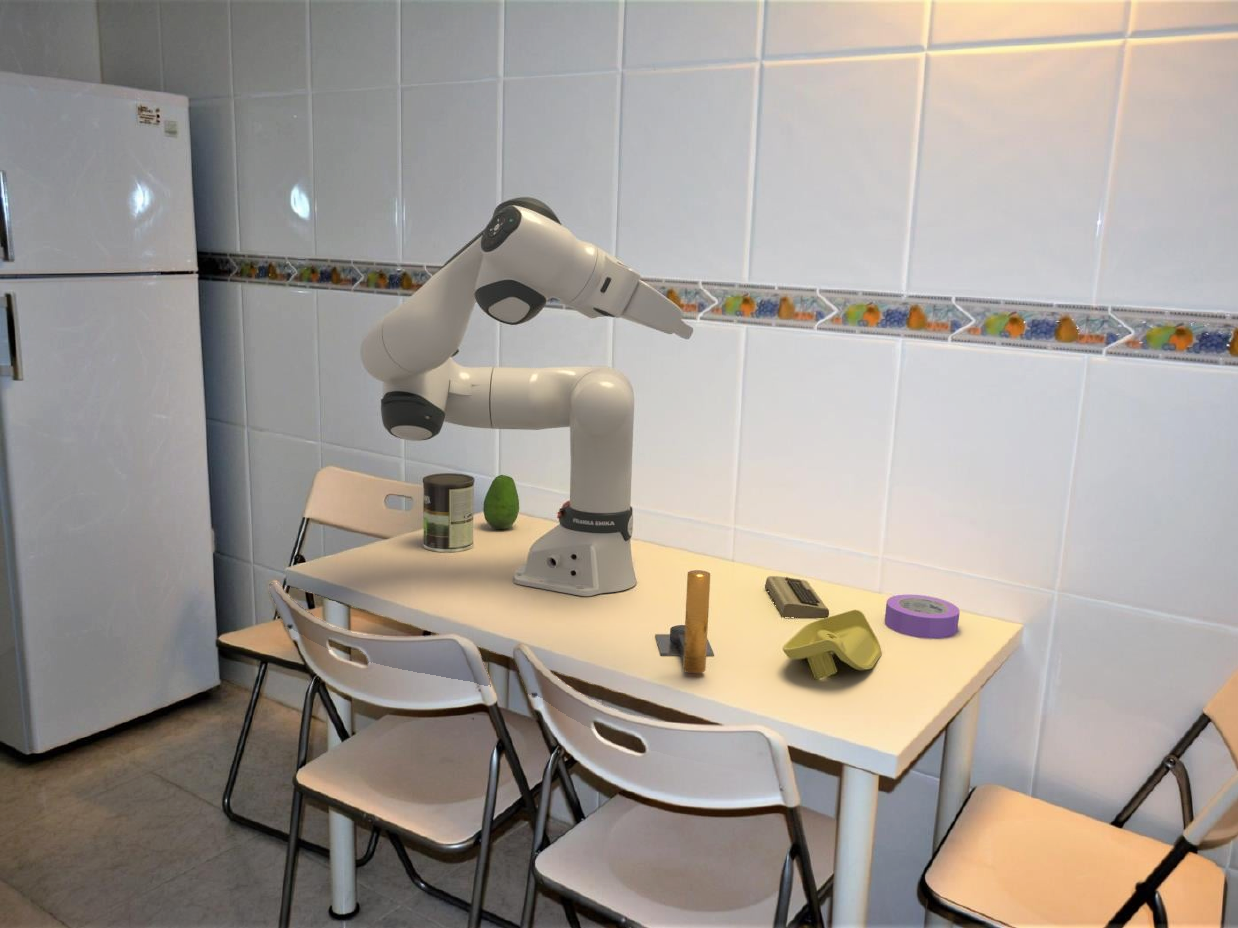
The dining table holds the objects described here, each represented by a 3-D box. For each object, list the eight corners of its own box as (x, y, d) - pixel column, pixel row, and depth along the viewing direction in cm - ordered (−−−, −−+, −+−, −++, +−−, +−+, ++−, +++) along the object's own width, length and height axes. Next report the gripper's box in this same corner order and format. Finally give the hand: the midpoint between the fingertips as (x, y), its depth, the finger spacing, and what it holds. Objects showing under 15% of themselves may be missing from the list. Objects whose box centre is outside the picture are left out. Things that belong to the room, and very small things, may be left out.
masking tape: (962, 623, 172) (964, 601, 172) (951, 644, 162) (953, 621, 161) (892, 611, 177) (894, 589, 177) (877, 631, 167) (879, 608, 166)
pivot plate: (655, 636, 161) (655, 634, 160) (705, 636, 161) (705, 634, 161) (660, 655, 153) (660, 653, 153) (713, 655, 153) (713, 653, 153)
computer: (829, 621, 172) (830, 602, 171) (781, 620, 171) (783, 601, 171) (808, 592, 187) (809, 574, 187) (764, 591, 187) (765, 574, 186)
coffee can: (422, 553, 202) (422, 483, 199) (423, 539, 212) (422, 473, 209) (475, 552, 204) (475, 483, 201) (473, 538, 214) (473, 472, 211)
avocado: (521, 532, 220) (522, 478, 218) (484, 533, 218) (485, 478, 216) (516, 523, 228) (517, 470, 226) (481, 524, 226) (481, 471, 224)
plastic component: (807, 623, 162) (867, 605, 158) (823, 667, 162) (884, 650, 158) (773, 654, 144) (839, 636, 140) (791, 704, 144) (858, 687, 140)
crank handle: (668, 635, 159) (672, 547, 156) (696, 635, 159) (700, 548, 156) (680, 673, 144) (684, 576, 142) (711, 673, 145) (716, 577, 142)
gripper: (558, 296, 148) (633, 337, 154) (614, 314, 130) (696, 361, 136) (577, 256, 147) (652, 300, 154) (637, 270, 129) (718, 318, 136)
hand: (673, 329), depth 145 cm, fingers open, 8 cm apart
